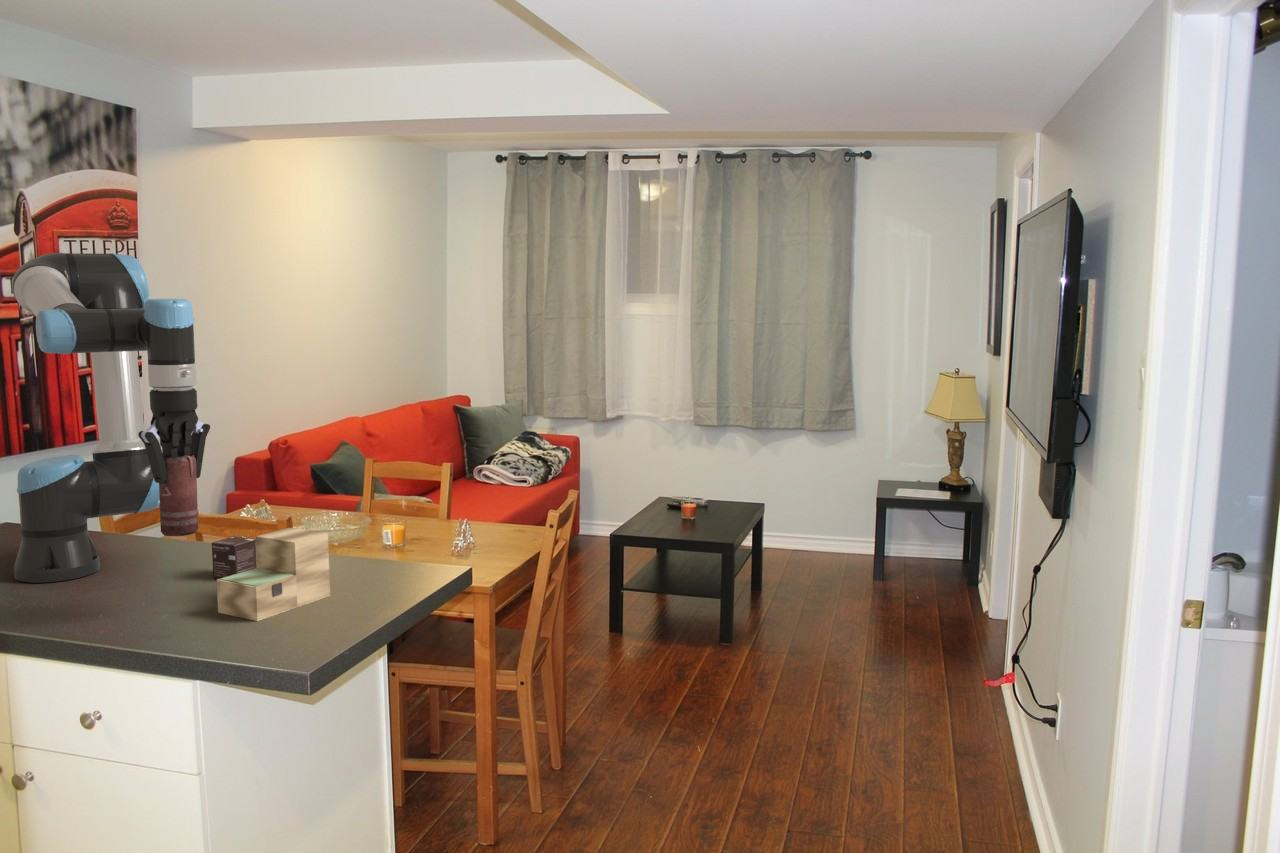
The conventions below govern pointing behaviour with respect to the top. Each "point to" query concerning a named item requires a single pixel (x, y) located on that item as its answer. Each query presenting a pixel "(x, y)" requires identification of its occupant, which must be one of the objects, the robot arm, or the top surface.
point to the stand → (278, 576)
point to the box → (233, 556)
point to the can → (179, 497)
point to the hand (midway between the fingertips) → (180, 520)
